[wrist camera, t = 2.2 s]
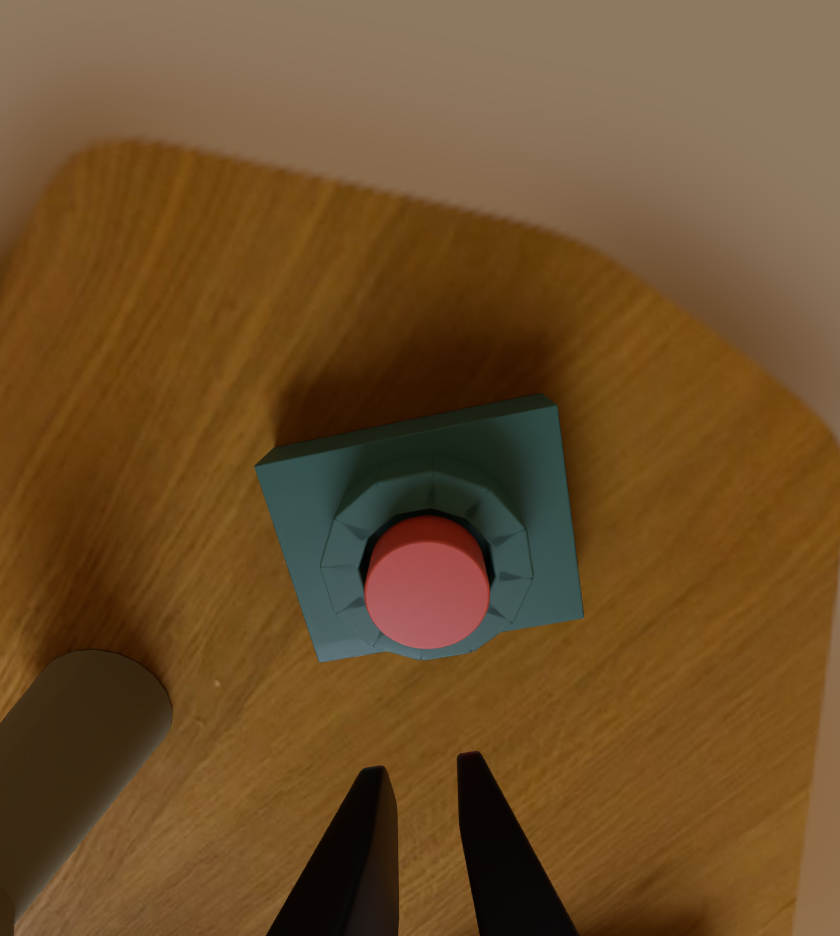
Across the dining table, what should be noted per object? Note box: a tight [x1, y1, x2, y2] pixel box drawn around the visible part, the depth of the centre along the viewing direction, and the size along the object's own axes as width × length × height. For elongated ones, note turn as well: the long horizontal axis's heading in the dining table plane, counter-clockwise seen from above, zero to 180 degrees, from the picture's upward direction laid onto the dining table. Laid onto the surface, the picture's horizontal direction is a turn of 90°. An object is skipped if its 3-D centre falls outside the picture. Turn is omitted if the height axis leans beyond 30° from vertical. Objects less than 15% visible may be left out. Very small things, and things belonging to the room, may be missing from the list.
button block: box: [254, 393, 584, 662], centre depth 17 cm, size 10×8×4 cm
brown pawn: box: [0, 649, 172, 936], centre depth 17 cm, size 6×6×11 cm
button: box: [364, 515, 490, 649], centre depth 15 cm, size 4×4×2 cm
